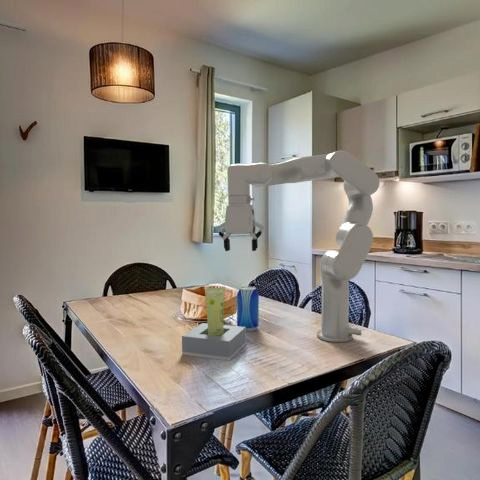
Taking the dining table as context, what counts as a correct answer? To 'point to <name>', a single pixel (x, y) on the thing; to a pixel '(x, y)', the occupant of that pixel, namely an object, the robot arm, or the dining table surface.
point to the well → (214, 342)
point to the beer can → (248, 308)
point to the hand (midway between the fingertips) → (240, 250)
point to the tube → (215, 310)
